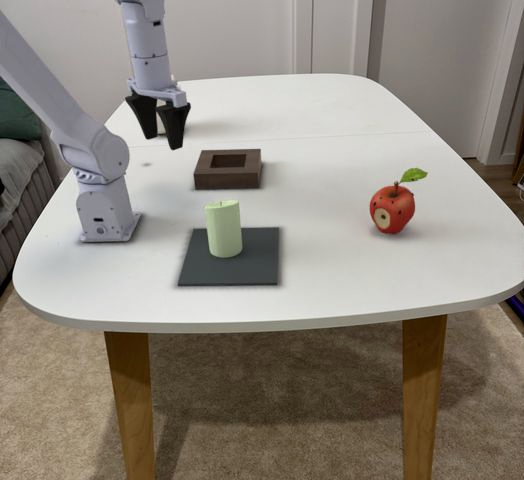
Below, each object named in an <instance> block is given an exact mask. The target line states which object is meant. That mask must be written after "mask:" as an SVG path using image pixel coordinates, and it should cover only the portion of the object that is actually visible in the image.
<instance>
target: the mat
mask: <svg viewBox="0 0 524 480" xmlns="http://www.w3.org/2000/svg"><path fill="white" fill-rule="evenodd" d="M279 232H280V227H279V226H273V227H268V226H265V227H262V226H261V227H241V236H242V251H241V252H240V253H239V254H237V255H235V256H233V257H228V258H221V257H216V256H214V255H212V254H211V253H210V248H209V240H208V232H207V227H206V228H205V227H204V228H203V227H202V228H193V229H192V233H191V237H190V240H189V243H188V246H187V249H186V254H185V257H184V260H183V264H182V267H181V269H180V273H179V277H178V280H177V286H179V287H186V286H187V287H190V286H191V287H192V286H194V287H197V286H200V287H201V286H277V285H278V270H279V269H278V267H279V239H280V238H279V237H280V233H279Z"/></svg>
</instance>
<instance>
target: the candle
mask: <svg viewBox="0 0 524 480" xmlns="http://www.w3.org/2000/svg"><path fill="white" fill-rule="evenodd" d="M204 216H205V223H206V228H207V232H208V240H209V248H210V253H211V254H212V255H214V256H216V257H221V258H228V257H233V256H235V255H237V254H239V253H240V252H241V251H242V236H241V228H242V224H241V211H240V201H239V200H237V199H229V200H228V199H227V200H221V201H214V202H211V203H208V204H205V205H204Z"/></svg>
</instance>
